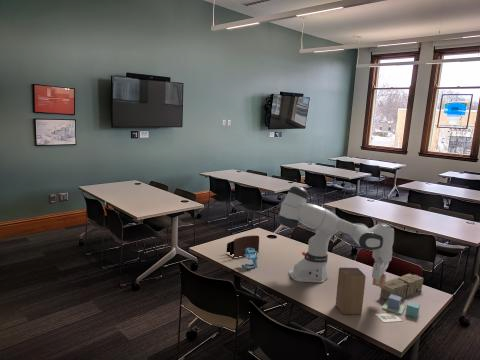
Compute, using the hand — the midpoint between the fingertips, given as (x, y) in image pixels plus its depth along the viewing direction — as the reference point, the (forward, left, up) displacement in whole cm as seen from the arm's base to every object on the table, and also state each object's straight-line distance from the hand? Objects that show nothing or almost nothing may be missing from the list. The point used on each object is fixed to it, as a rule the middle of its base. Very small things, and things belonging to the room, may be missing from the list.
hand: (379, 281), depth 183 cm
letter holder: (-56, +71, -12) cm, 92 cm away
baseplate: (+6, -6, -12) cm, 14 cm away
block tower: (+19, +8, -12) cm, 24 cm away
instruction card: (-2, -14, -12) cm, 19 cm away
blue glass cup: (-55, +50, -12) cm, 75 cm away
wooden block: (-18, -5, -12) cm, 23 cm away
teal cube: (+12, -12, -12) cm, 21 cm away
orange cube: (0, 0, -2) cm, 2 cm away
